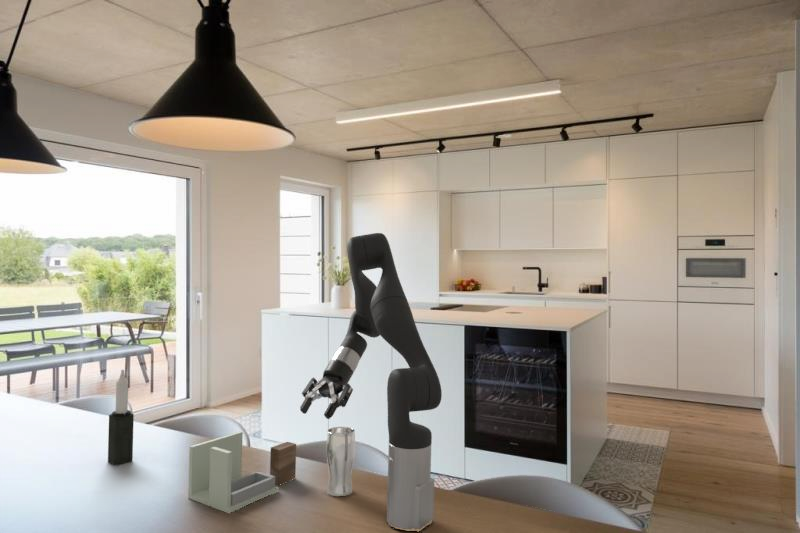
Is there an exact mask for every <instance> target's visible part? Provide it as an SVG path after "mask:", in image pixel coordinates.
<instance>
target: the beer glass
mask: <svg viewBox="0 0 800 533" xmlns="http://www.w3.org/2000/svg"><path fill="white" fill-rule="evenodd" d="M325 451H326V462H327V468H328V469H327V471H328V485H327V490H326V493H327V495H328V494H330V495H334V496H344V495H348V494H350V495H352V494H353V487H352V471H353V466H354V462H355V461H354V460H355V455H356V431H355V429H354V428H352V427H348V426H335V427H331V428H329V429H328V430H327V437H326V450H325ZM351 493H352V494H351ZM330 495H329V496H330Z"/></svg>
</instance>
